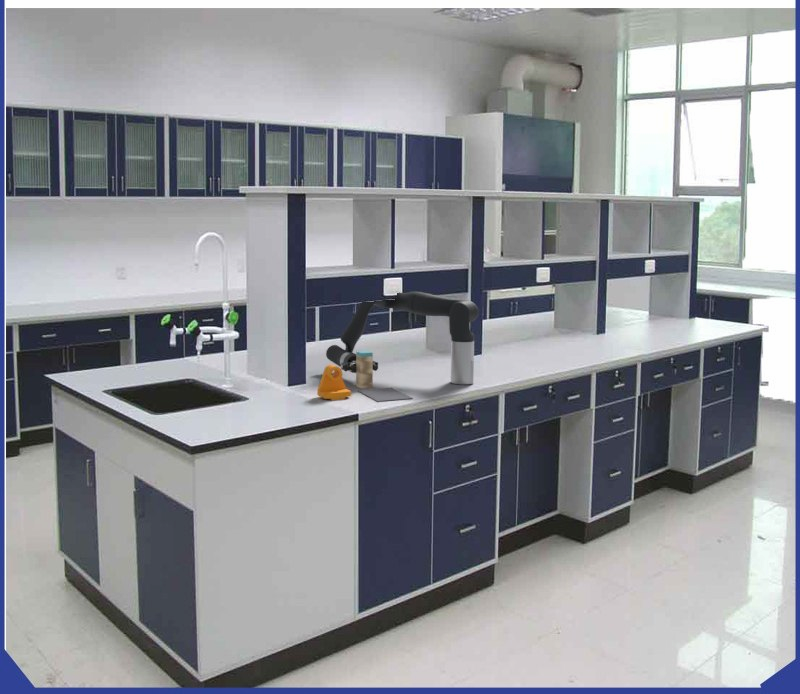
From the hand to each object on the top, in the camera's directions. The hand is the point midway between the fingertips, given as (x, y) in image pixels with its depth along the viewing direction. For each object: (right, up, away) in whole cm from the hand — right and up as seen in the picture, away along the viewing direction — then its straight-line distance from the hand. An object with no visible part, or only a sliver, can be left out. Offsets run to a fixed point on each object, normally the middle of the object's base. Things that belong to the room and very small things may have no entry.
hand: (366, 368), depth 340 cm
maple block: (-1, -7, +3) cm, 8 cm away
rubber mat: (+8, -10, -12) cm, 17 cm away
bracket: (-11, -11, -17) cm, 23 cm away
